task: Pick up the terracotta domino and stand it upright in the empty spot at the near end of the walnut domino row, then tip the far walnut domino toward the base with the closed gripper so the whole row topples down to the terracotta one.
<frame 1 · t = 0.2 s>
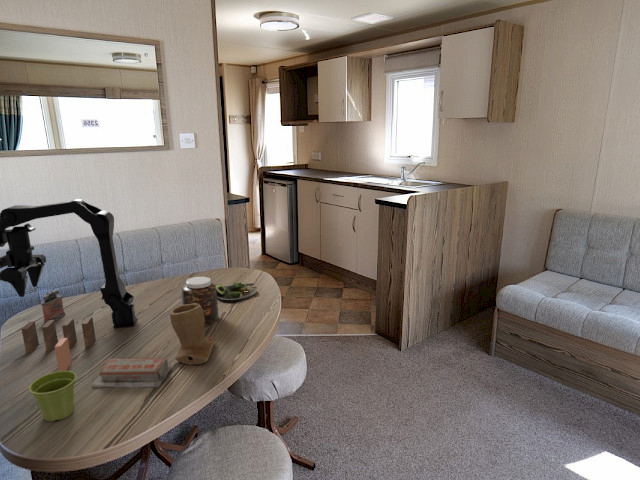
hand: (28, 291, 137), 15 cm above the table, tool pointing down, fingers open, 9 cm apart
plant pot: (59, 414, 100), on the table
domino 4: (90, 343, 133), on the table
jar: (201, 320, 149), on the table
salad plate: (232, 295, 173), on the table
domino 2: (52, 347, 131), on the table
stone cup: (193, 354, 126), on the table
domino 1: (32, 348, 130), on the table
packaged product: (133, 378, 115), on the table
domino 3: (71, 345, 132), on the table
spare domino: (65, 367, 119), on the table
lighter: (55, 318, 151), on the table
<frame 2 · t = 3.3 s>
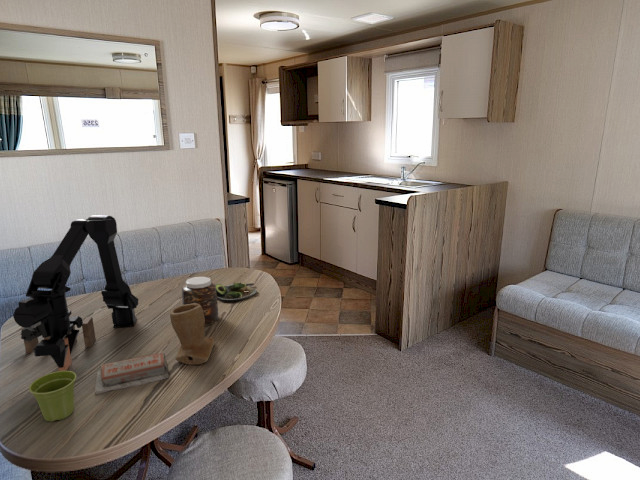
hand: (64, 362, 119), 2 cm above the table, tool pointing down, fingers closed on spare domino, 5 cm apart
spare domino: (65, 367, 119), on the table, touching gripper
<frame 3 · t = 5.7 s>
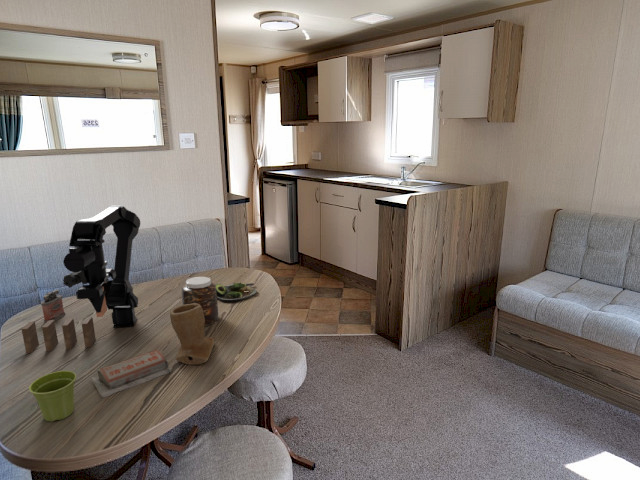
hand: (101, 308, 130), 12 cm above the table, tool pointing down, fingers closed on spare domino, 5 cm apart
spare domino: (102, 313, 131), point 10 cm above the table, touching gripper
when the fingers open (3 cm above the table, at t = 8.5 s): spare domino drops 1 cm, on the table.
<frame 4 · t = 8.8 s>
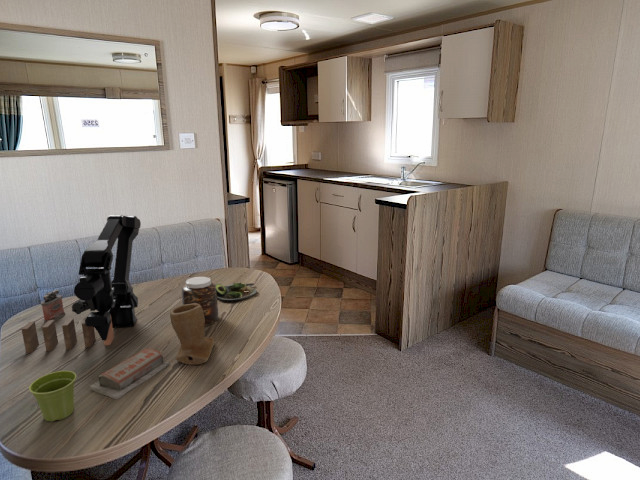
hand: (108, 333, 133), 3 cm above the table, tool pointing down, fingers open, 8 cm apart
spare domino: (109, 341, 134), on the table
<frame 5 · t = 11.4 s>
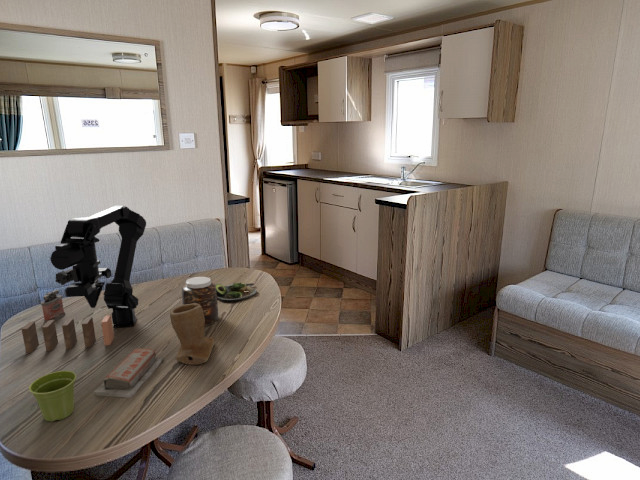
hand: (93, 307, 130), 12 cm above the table, tool pointing down, fingers closed
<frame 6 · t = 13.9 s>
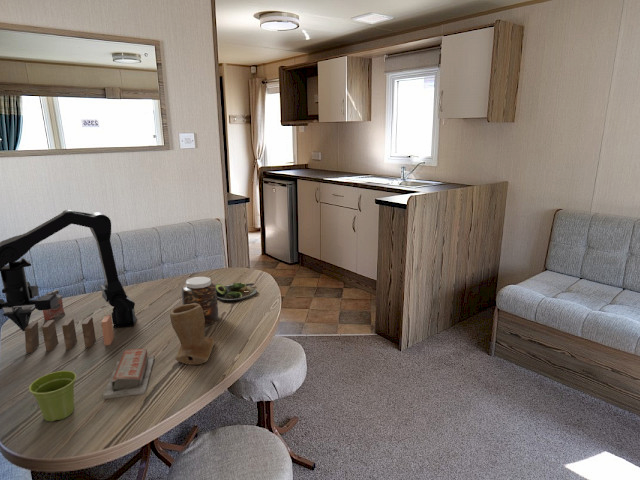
hand: (25, 330, 128), 6 cm above the table, tool pointing down, fingers closed
domino 1: (32, 348, 130), on the table, tilted 6°, touching gripper
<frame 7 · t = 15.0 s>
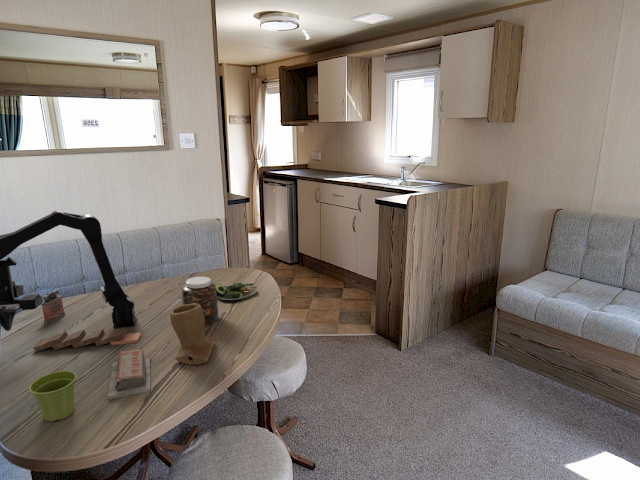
hand: (8, 330, 127), 7 cm above the table, tool pointing down, fingers closed
domino 4: (98, 340, 133), point 1 cm above the table, tilted 76°, touching domino 3, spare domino
domino 2: (56, 344, 131), point 1 cm above the table, tilted 73°, touching domino 1, domino 3
domino 1: (38, 346, 130), point 1 cm above the table, tilted 73°, touching domino 2
domino 3: (75, 342, 132), point 1 cm above the table, tilted 76°, touching domino 2, domino 4
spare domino: (112, 340, 134), on the table, tilted 90°, touching domino 4
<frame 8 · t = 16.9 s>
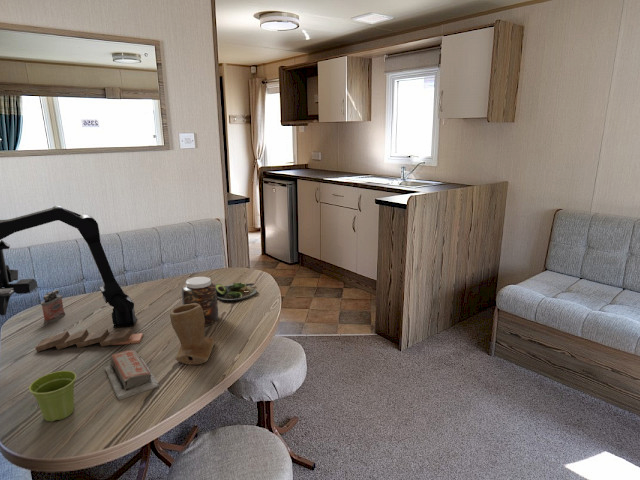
hand: (3, 314, 125), 12 cm above the table, tool pointing down, fingers closed
domino 4: (104, 340, 133), point 1 cm above the table, tilted 76°, touching domino 3, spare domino
domino 3: (80, 341, 132), point 1 cm above the table, tilted 76°, touching domino 2, domino 4
at the end: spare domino tilted 90°; domino 1 tilted 73°; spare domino inside the target area (1.3 cm from its centre), on the table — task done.
